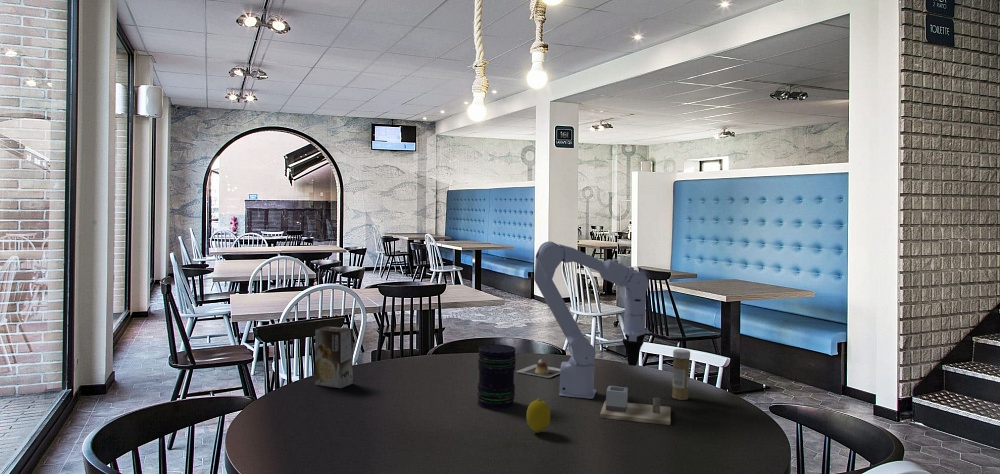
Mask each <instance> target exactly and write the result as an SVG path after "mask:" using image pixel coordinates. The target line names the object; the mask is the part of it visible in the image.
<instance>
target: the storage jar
mask: <svg viewBox="0 0 1000 474" xmlns="http://www.w3.org/2000/svg"><path fill="white" fill-rule="evenodd" d="M477 361H478V362H477V363H478V365H477V368H478V383H477V406H478V408H479V407H480V408H481V409H485V410H490V411H491V410H492V411H503V410H504V411H505V410H508V409H512V408H513V407H514V406H515V401H514V400H515V394H516V393H515V392H516V391H515V389H516V384H515V381H514V380H515V371H516V363H517V361H516V347H515V346H513V345H509V344H500V343H499V344H498V343H497V344H494V343H492V344H482V345H480V346H479V347H478V358H477Z"/></svg>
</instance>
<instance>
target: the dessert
mask: <svg viewBox="0 0 1000 474" xmlns="http://www.w3.org/2000/svg"><path fill="white" fill-rule="evenodd" d="M537 361H538V363H537V364H535V363H534V364H532V365H529V366H527V367H523V368H522V369H519V370H515V371H516V372H517V373H518V374H522V375H528V376H535V377H539V378H546V379H551V378H553V377H555V376H557V375H560V368H558V367H555V366H554V367H553V366H548V364H547V363H546V361H545V360H543V358H541V359H539V360H537ZM532 369H535V370H534V373H535V374H534V373H529V372H527V371H530V370H532ZM549 370H552V371H557V373H555V374H553V375H550V376H546V374H547V375H548V374H550V372H549Z"/></svg>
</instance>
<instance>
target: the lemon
mask: <svg viewBox="0 0 1000 474" xmlns="http://www.w3.org/2000/svg"><path fill="white" fill-rule="evenodd" d="M550 422H551V409H550V407H549V404H547V402H546V401H544V400H542V399H541V398H537V399H535V400H533V401H531V402H530V404H529V405H528V407H527V410H526V423H527V425H528V427H529V428H530V429H532V430H534V432H536V433H537V434H539V433H541V431H544V430H545V429H546V428H548V427H549V425H550Z"/></svg>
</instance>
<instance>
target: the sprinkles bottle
mask: <svg viewBox="0 0 1000 474" xmlns="http://www.w3.org/2000/svg"><path fill="white" fill-rule="evenodd" d="M690 351H691V350H688V349H685V348H684V349H682V348H677V349H673V351H672V352H673V353H672V356H673V363H672V364H673V368H672V394H671V398H673V399H674V400H679V401H685V400H688V399H689V398H690V397H689V386H690V359H691V352H690Z"/></svg>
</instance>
